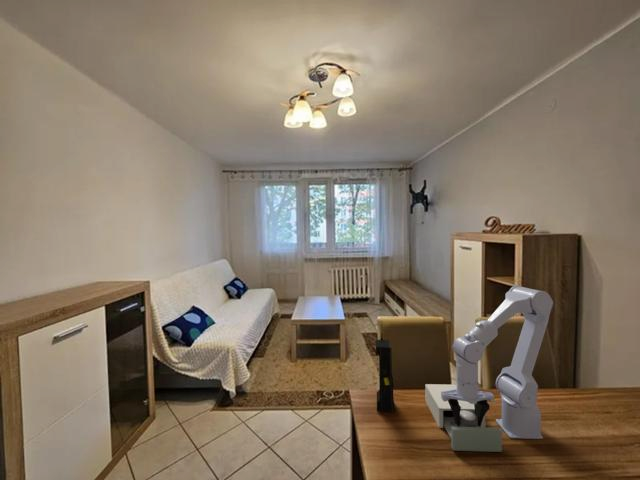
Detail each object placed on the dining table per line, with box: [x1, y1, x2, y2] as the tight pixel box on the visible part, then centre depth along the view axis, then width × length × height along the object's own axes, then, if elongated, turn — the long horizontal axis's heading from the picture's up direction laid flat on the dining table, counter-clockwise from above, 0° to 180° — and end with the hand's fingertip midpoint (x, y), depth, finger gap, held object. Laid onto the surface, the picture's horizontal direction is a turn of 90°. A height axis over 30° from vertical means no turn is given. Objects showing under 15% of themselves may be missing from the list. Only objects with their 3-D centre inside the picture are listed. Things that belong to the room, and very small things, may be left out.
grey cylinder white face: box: [457, 410, 478, 427], centre depth 84 cm, size 6×6×4 cm
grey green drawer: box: [443, 416, 503, 453], centre depth 85 cm, size 13×13×6 cm
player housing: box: [424, 383, 486, 429], centre depth 95 cm, size 14×14×6 cm
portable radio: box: [375, 332, 395, 413], centre depth 99 cm, size 8×6×25 cm
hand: (467, 423), depth 84 cm, fingers closed on grey cylinder white face, 5 cm apart
